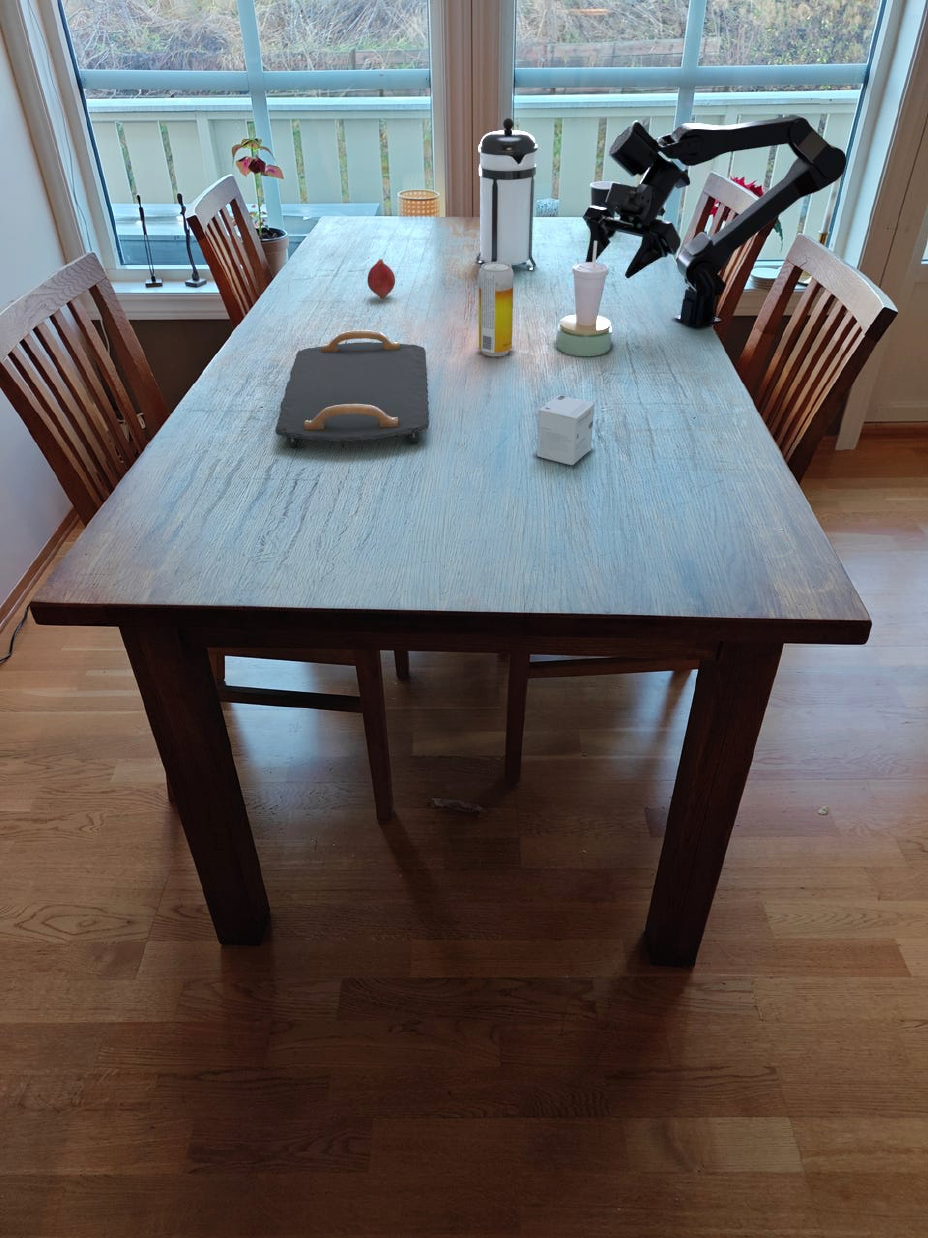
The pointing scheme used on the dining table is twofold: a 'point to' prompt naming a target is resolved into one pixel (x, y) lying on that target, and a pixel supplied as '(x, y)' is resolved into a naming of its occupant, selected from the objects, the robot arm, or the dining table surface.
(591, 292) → the smoothie
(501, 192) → the coffee press
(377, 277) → the onion
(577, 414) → the product carton
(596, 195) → the dixie cup
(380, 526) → the dining table surface
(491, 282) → the beer can
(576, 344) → the jar
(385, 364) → the serving tray
